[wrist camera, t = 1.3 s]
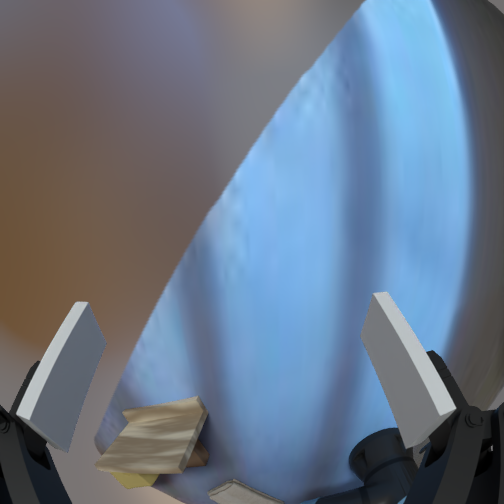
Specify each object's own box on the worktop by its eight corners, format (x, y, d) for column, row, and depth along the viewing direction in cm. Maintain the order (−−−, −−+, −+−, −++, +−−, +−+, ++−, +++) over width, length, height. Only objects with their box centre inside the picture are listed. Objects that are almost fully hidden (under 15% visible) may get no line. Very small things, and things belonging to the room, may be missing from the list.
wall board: (233, 450, 48) (218, 510, 30) (161, 458, 51) (134, 506, 33) (198, 395, 48) (167, 454, 30) (125, 409, 50) (85, 453, 32)
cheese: (115, 441, 52) (97, 462, 42) (140, 434, 51) (122, 458, 41) (141, 467, 52) (126, 490, 42) (168, 462, 51) (154, 487, 41)
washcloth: (232, 475, 50) (230, 484, 47) (286, 500, 49) (286, 508, 46) (205, 490, 51) (203, 498, 48) (257, 513, 50) (256, 521, 47)
